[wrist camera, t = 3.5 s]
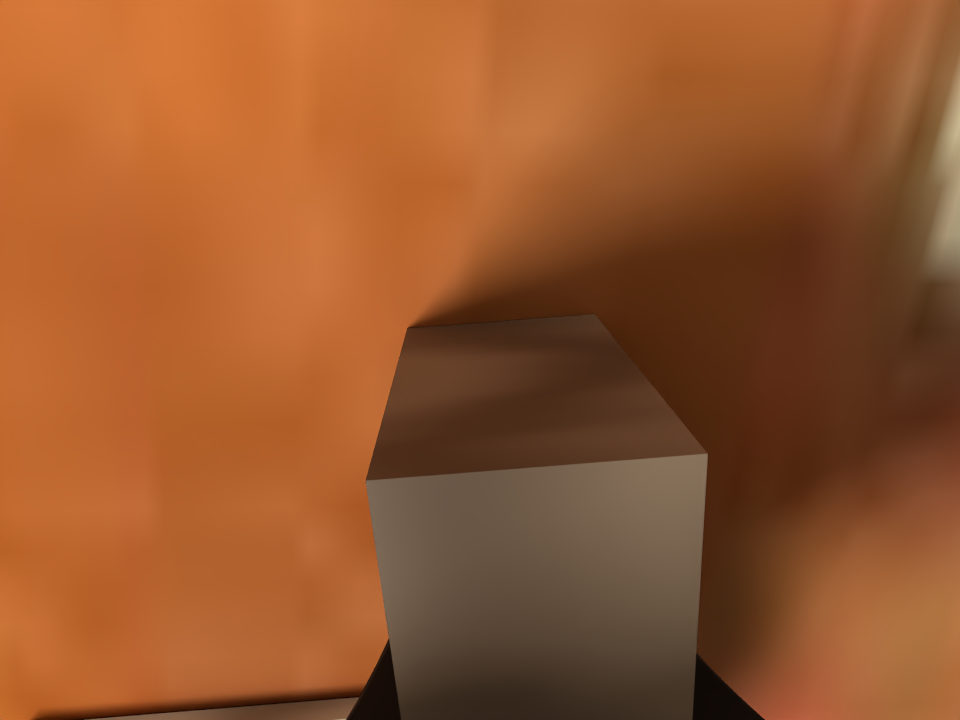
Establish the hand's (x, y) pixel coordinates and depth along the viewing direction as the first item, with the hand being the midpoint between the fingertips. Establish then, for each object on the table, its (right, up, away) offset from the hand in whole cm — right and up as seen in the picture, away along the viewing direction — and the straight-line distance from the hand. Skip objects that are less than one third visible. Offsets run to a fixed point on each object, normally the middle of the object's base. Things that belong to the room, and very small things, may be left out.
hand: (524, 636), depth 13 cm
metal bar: (0, 0, +2) cm, 2 cm away
